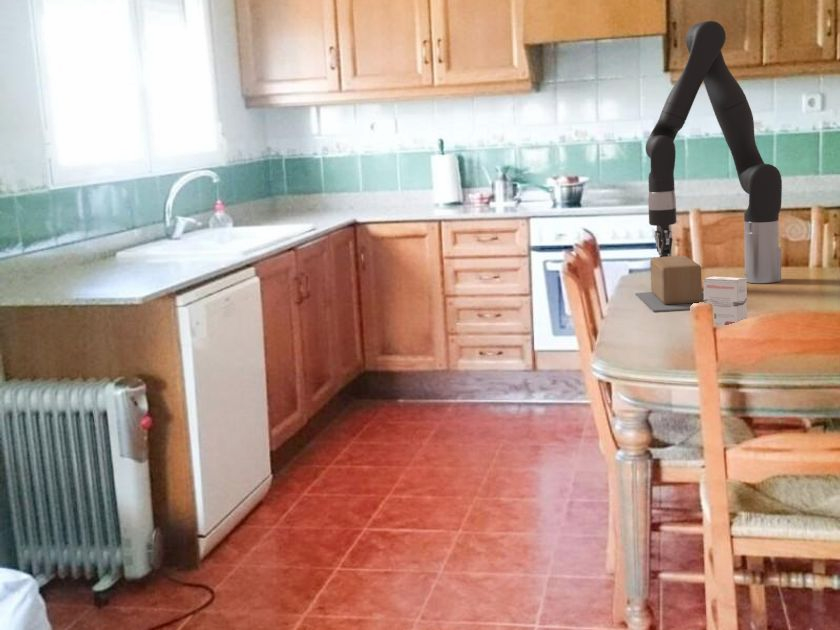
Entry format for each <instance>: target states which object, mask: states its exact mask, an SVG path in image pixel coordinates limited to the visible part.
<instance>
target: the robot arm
mask: <svg viewBox="0 0 840 630" xmlns="http://www.w3.org/2000/svg"><path fill="white" fill-rule="evenodd" d="M725 30H726V29H724V27H723V25H722V24H721V23H719V22H717V21H713V20H707V21H706V20H705V21H702V22H697V23H695V24H693V25H692V26H691V27H690V28H689V29H688V31H687V32H686V35H685V44H686V49H687V50H688V52H689V55H688V59H687V61H686V64H685V66H684V68H683V70H682V72H681V73H680V75H679V77H678V79H677V80H676V82H675V83H674V85H673V87H672V89H670V92H669V94H668V96H667V98H666V100H665V103H664V104H663V105H664V106H663V108H662V110H661V113H660V115H659V118H658V120H657V121H656V123H655V125H654V127H653V129H652V131H651V133H650V134H649V136H648V139H647V142H646V144H645V152H646V155H647V157H648V158H649V159H650V172H649V174H648V197H647V198H648V200H647V203H648V224H649V225H650V226H653V227H654V226H656V230H655V231H654V240H655V241H654V242H655V246H656V251H657V253H658V255H659V257H668V256H670V254H671V252H672V244H673V237H672V234H673V233H672V230H670V225H671V226H672V225H675V224H676V223H677V198H676V191H675V190H676V189H675V174H674V173H675V167H676V165H675V163H676V153H677V152H676V145H675V144H676V143H674V141H675V139H676V137H677V135H678V134H679V131H680V130H682V128H683V127H684V126H685V124H686V121H687V118H688V116H689V114H690V111H691V108H692V107H693V105H694V102H695V99H696V98H697V95H698V93H699V90H700V88H701V86H702V84H704V88H705V90H706V92H707V97H708V98H709V101H710V103H711V107H712V110H713V112H714V115H715V117H716V120H717V123H718V125H719V128H720V130H721V132H722V135H723V137H724V140H725V142H726V144H727V147H728V148H729V151H730V153H731V155H732V159H733V162H734V166H735V170H736V172H737V173H736V174H737V177H738V181H739V184H740V186H741V188H742V190H743V192H745V193H746V194H748V206H747V208H746V210H745V211H744V215H743V222H744V223H743V226H744V228H743V230H744V231H743V232H744V278H747V283H750V284H769V283H776V282H782V248H781V247H780V244H779V243H780V240H779V239H780V238H779V236H780V233H779V232H780V231H779V230H780V229H779V227H780V226H779V225H780V224H779V221H780V220H779V219H780V218H779V217H780V216H779V215H780V213H781V210H782V209H781V208H782V198H783V197H782V196H783V194H782V193H783V188H782V187H783V180H782V179H783V178H782V174H781V172H780V170H779V169H778V167H776V166H774V165H772V164H769V163H765V162H764V160H763V158H762V156H761V153H760V151H759V149H758V147H757V144H756V143H757V142H756V137H755V136H756V135H755V124H754V123H755V122H754V121H755V120H754V115H753V112H752V109H751V106H750V104H749V101H748V99H747V96H746V94H745V92H744V89H742V87H741V86H740V84H739V82H738V81H737V79H736V78H735V76H733V74H732V73H731V71H730V69H729V68H728V66H727V64H726V61H725V59H724V56H723V52H722V48H723V47H724V45H725V43H726V40H727V37H726V31H725Z"/></svg>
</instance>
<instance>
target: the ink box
mask: <svg viewBox="0 0 840 630" xmlns="http://www.w3.org/2000/svg"><path fill="white" fill-rule="evenodd" d="M747 285H748V282H747V278H745V277H728V276H708V277H706V278H704V279H703V294H704V303H710V304H712V306H713V309H714V319H715V325H716V326H723V325H729V324H732V323H735V322H738V321H740V320H743V319H746V318H747V319H748V311H747V309H748V305H747V304H748V303H747V302H748V298H747V297H748V294H747V292H748V291H747V290H748V286H747Z"/></svg>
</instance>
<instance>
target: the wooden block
mask: <svg viewBox="0 0 840 630" xmlns="http://www.w3.org/2000/svg"><path fill="white" fill-rule="evenodd" d="M649 262H650V286H651V287H650V288H651V289H650V290H651V292H652V293H653V294H654V295H655V296H656V297H657V298H658V299H659V300H660V301H661V302H662V303H663V304H666V305H671V304H689V303H699V302H701V300H702V293H703V292H702V291H703V290H702V289H703V288H702V283H703V282H702V266H701V265H700V264H699V263H697V262H695V261H694V260H693V259H691V258H689V257H687V255H673V256H672V255H671V256H670V255H668V257H660V256H656V257H655V256H654V257H652V258H651V259H650V261H649Z"/></svg>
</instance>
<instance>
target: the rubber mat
mask: <svg viewBox="0 0 840 630" xmlns="http://www.w3.org/2000/svg"><path fill="white" fill-rule="evenodd" d="M634 295H635V296H636V297H637V296H638V297H639V298H640V299H639V298H638V297H637V298H638V299H639V300H640V301H641V300H642V301H643V302H644V303H645V304H646V305H645V304H644V303H643V302H642V301H641V302H642V303H643V304H644V305H645V306H646V307H647V308H649V309H650V310H651V311H652V312H653V313H661V312H662V313H663V312H665V313H666V312H678V311H679V312H681V311H691V310H690V306H691V305H692V304H693V303H689V304H671V305H666V304H663V303H662V302H661V301H660V300H659V299H658V298H657V297H656V296H655V295H654V294H653V293H652V291H651V292H650V291H649V292H636V293H635V294H634ZM701 302H704V292H702V300H701Z"/></svg>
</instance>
